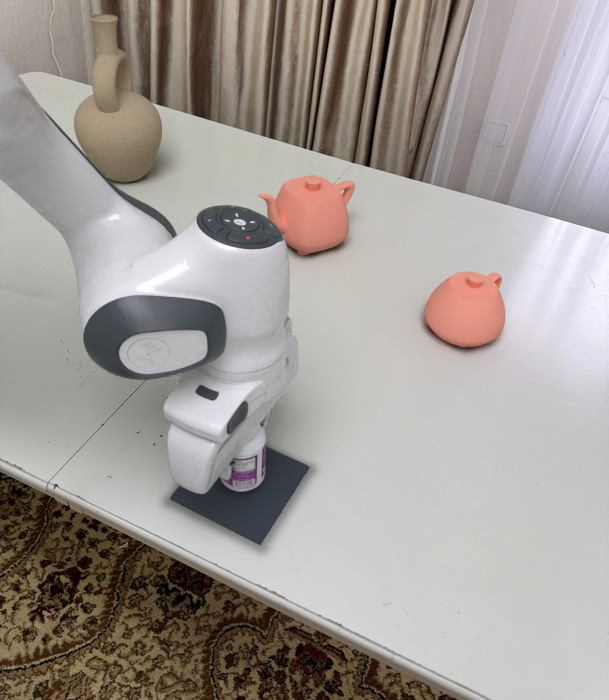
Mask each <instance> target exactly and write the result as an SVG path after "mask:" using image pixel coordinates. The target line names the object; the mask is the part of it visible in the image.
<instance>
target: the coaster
mask: <svg viewBox="0 0 609 700" xmlns="http://www.w3.org/2000/svg"><path fill="white" fill-rule="evenodd" d="M309 469H310V465H308V464H305V463H303V462H301V461H299V460H297V459H295V458H292V457H290V456H288V455H286V454H284V453H281V452H279V451H277V450H275V449H272V448H270V447H268V446H266V460H265V476H264V479H263V481H262V482H261V484H260V485H258V486H257V487H256V488H254V489H251V490H249V491H243V492H239V491H235V490H231V489H229V488H228V487H226V486H225V485H224V483H223V482H222V480H221V478H220V477H219V478H218V479H217V480H216V482H215V483H214V484H213V485H212V487H211V488H210V490H209V491H208V492H207V493H205V494H197V493H194V492H192V491H190V490H187V489H185V488H184V487H182V486H180V485H178V487H177V488H176V489H175V490H174V492H173V493H172V494H171V495H170V497H169V499H170V501H172V502H175V503H176V504H178V505H181V506H182V507H184V508H186V509H189V511H192V512H194V513H196V514H197V515H200V516H202V517H204V518H206V519H208V520H210V521H211V522H214V523H215V524H218V525H219V526H222V527H224V528H226V529H227V530H230V531H231V532H234V533H236V534H237V535H239V536H241V537H243V538H245V539H247V540H249V541H251V542H252V543H255V544H257V545H259V546H261V545H262V543H263V542H264V540H265V538H266V537H267V535H268V534H269V532H270V530H271V529H272V527H274V524H275V523H276V521H277V519H278V518H279V516H280V515H281V513H282V511H283V510H284V508H285V507H286V505H287V504H288V503H289V501H290V499H291V498H292V496H293V494H294V493H295V491H296V490H297V488H298V487H299V485H300V484H301V482H302V480H303V478H304V477H305V475H306V474H307V473H308V471H309Z"/></svg>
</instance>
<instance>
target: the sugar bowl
mask: <svg viewBox="0 0 609 700" xmlns="http://www.w3.org/2000/svg"><path fill="white" fill-rule="evenodd" d="M502 282H503V277H502V275H501V274H499V273H497V272H490V273H489V274H488V275H485V274H482V273H480V272H475V271H460V272H456V273H453V274H452V275H451V276H449V277H448V278H446V279H445V280H444V281H442V282H441V283H440V284H439V285H437V286H436V287H435V288H434V289H433V291H432V293H430V295H429V297H428V299H427V301H426V302H425V307H424V311H423V312H424V318H425V321H426V323H427V325H428V326H429V328H430V329H431V331H432V332H433V333H434V334H435V335H436V336H437V337H439V338H440V339H442V340H443V341H445V342H447V343H449V344H452V345H454V346H458V347H459V348H464V349H465V348H474V347H479V346H483V345H486V344H489V343H491V342H493V341H494V340H496V339H497V338H498V337H499V336H501V334H502V332H503V330H504V327H505V324H506V308H505V307H506V306H505V302H504V299H503V296H502V293H501V290H500V287H501V285H502Z"/></svg>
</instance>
